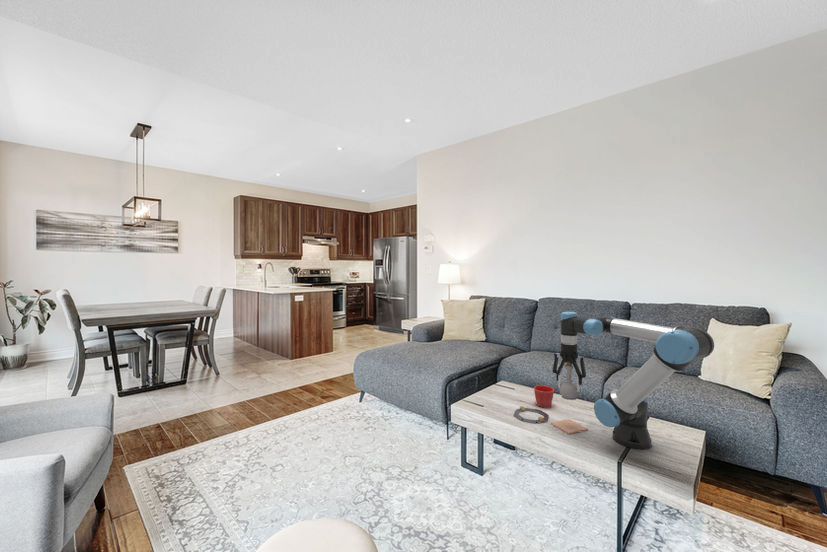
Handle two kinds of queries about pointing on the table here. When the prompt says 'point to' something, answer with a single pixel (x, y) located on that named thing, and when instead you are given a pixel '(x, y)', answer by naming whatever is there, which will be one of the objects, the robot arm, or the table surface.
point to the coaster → (569, 426)
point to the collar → (540, 419)
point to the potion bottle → (568, 385)
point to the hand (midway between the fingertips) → (569, 389)
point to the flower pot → (543, 395)
